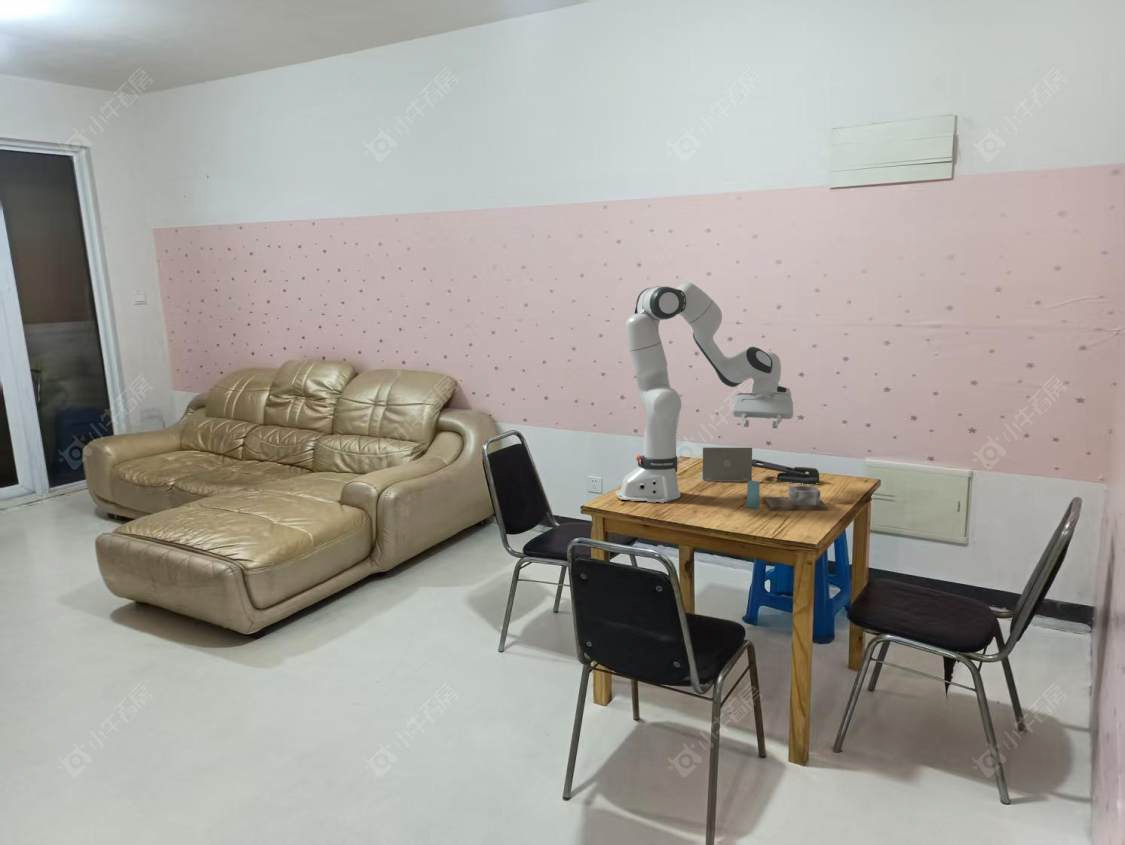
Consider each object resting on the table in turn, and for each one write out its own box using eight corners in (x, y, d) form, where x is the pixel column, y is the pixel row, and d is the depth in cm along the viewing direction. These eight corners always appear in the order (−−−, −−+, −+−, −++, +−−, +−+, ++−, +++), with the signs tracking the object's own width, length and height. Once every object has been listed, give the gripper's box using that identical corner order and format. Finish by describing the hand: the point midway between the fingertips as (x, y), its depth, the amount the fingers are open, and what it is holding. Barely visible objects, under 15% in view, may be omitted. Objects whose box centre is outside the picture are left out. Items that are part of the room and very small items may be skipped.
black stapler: (751, 458, 291) (820, 463, 282) (751, 475, 292) (820, 480, 283) (747, 463, 283) (818, 468, 274) (747, 480, 284) (817, 486, 275)
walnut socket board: (771, 510, 245) (771, 493, 244) (762, 500, 257) (763, 484, 256) (827, 510, 245) (828, 493, 244) (816, 500, 256) (817, 483, 255)
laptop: (747, 474, 295) (747, 441, 293) (751, 482, 283) (752, 447, 281) (699, 473, 297) (700, 440, 295) (702, 481, 285) (702, 447, 282)
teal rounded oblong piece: (748, 509, 248) (748, 483, 246) (745, 505, 251) (746, 480, 250) (760, 509, 248) (760, 483, 246) (757, 505, 251) (758, 480, 250)
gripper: (733, 387, 265) (728, 419, 258) (794, 389, 258) (790, 422, 250) (735, 398, 270) (730, 430, 263) (795, 400, 262) (791, 433, 255)
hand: (760, 426), depth 257 cm, fingers open, 8 cm apart
